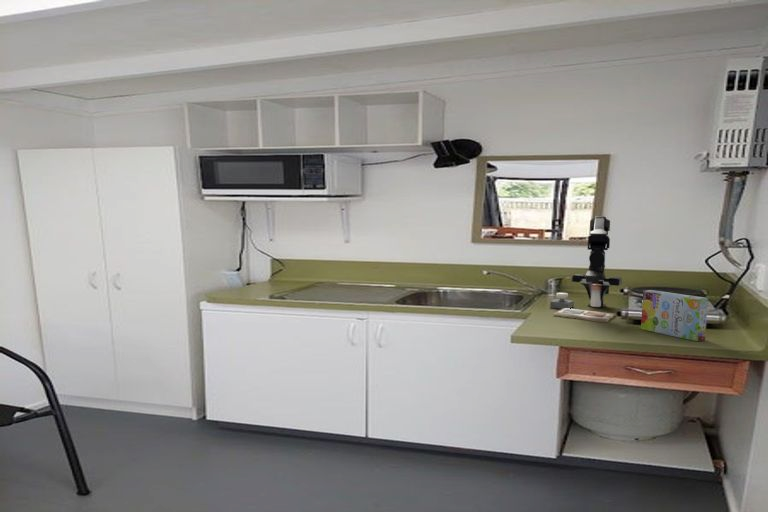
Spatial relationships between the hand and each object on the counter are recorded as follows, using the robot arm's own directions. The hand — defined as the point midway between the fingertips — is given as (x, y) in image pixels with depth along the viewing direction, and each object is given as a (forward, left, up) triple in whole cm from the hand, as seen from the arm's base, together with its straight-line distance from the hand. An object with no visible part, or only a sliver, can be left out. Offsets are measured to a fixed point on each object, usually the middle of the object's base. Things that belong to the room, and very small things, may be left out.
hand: (595, 300), depth 211 cm
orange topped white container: (0, 0, -2) cm, 2 cm away
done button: (-12, -18, -6) cm, 23 cm away
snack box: (+13, +30, -8) cm, 33 cm away
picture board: (0, -4, -7) cm, 9 cm away
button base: (-12, -18, -7) cm, 23 cm away
